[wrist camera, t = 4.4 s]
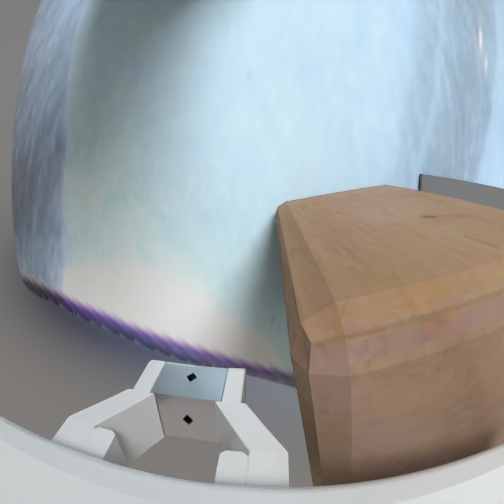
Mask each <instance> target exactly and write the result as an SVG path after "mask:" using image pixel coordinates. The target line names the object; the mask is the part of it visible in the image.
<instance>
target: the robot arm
mask: <svg viewBox="0 0 504 504" xmlns="http://www.w3.org/2000/svg"><path fill="white" fill-rule="evenodd" d="M245 394H246V370H245V369H244V368H229V369H228V368H214V367H202V366H194V365H187V364H178V363H172V362H164V361H157V360H151V361H150V362H149V363H148V365H147V366H146V368H145V370H144V371H143V373H142V375H141V376H140V378H139V380H138V382H137V383H136V385H135V387H134V389H133V390H132V389H127V390H125V391H123V392H121V393H119V394H117V395H115V396H113V397H110V398H108V399H106V400H104V401H102V402H100V403H98V404H95V405H93V406H91V407H89V408H86V409H84V410H82V411H80V412H77V413H76V414H73V415H71V416H69V417H68V418H67V420H66V421H65V423H64V424H63V426H62V427H61V428H60V429H59V431H58V433H57V434H56V435H55V437H54V438H53V439H52V441H50V440H48V439H45V438H43V437H41V436H39V435H36V434H34V433H32V432H30V431H28V430H26V429H24V428H22V427H20V426H18V425H16V424H14V423H12V422H10V421H9V420H7V419H5V418H3V417H1V416H0V504H504V443H502V444H499V445H497V446H495V447H492V448H490V449H487V450H485V451H482V452H480V453H477V454H474V455H471V456H469V457H466V458H463V459H460V460H457V461H453V462H450V463H447V464H444V465H440V466H437V467H433V468H429V469H425V470H422V471H417V472H413V473H409V474H404V475H399V476H395V477H389V478H384V479H378V480H372V481H365V482H357V483H349V484H340V485H328V486H313V487H289V468H288V452H287V451H286V450H285V449H284V447H283V446H282V445H281V444H280V443H279V442H278V441H277V440H276V438H275V437H274V436H273V435H272V434H271V433H270V431H269V430H268V429H267V428H266V427H265V426H264V424H263V423H262V422H261V421H260V420H259V419H258V417H257V416H256V415H255V414H254V413H253V411H252V410H251V409H250V408H249V407H248V405H247V404H245ZM164 435H165V436H171V437H179V438H187V439H194V440H202V441H208V442H215V443H219V445H220V447H221V449H222V451H223V452H222V453H220V456H219V461H218V466H217V470H216V475H215V480H214V483H205V482H198V481H191V480H185V479H179V478H173V477H168V476H163V475H158V474H153V473H149V472H145V471H140V470H136V469H133V468H129V466H128V465H129V464H130V463H131V462H133V461H134V460H135V459H137V458H138V457H139V456H141V455H142V454H143V453H145V452H146V451H147V450H148V449H150V448H151V447H152V446H153V445H155V444H156V443H157V442H159V441H160V440H161V439H162V438H164Z"/></svg>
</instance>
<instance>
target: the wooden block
mask: <svg viewBox="0 0 504 504" xmlns="http://www.w3.org/2000/svg"><path fill="white" fill-rule="evenodd" d="M275 218H276V226H277V234H278V242H279V251H280V259H281V268H282V277H283V286H284V295H285V304H286V314H287V323H288V333H289V343H290V354H291V360H292V365H293V371H294V376H295V382H296V388H297V393H298V399H299V404H300V410H301V416H302V422H303V428H304V433H305V439H306V445H307V451H308V457H309V463H310V469H311V476H312V482H313V486H328V485H340V484H349V483H357V482H365V481H372V480H378V479H384V478H389V477H395V476H399V475H404V474H409V473H413V472H417V471H422V470H425V469H429V468H433V467H437V466H440V465H444V464H447V463H450V462H453V461H457V460H460V459H463V458H466V457H469V456H471V455H474V454H477V453H480V452H482V451H485V450H487V449H490V448H492V447H495V446H497V445H499V444H502V443H504V210H502V209H498V208H494V207H490V206H486V205H482V204H478V203H474V202H470V201H465V200H461V199H456V198H452V197H447V196H442V195H438V194H433V193H428V192H422V191H417V190H412V189H406V188H401V187H395V186H389V185H381V186H374V187H368V188H362V189H355V190H349V191H343V192H337V193H332V194H326V195H320V196H314V197H309V198H303V199H298V200H292V201H287V202H285V203H283V204H282V205H280V206H279V207H277V212H276V217H275Z"/></svg>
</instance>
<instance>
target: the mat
mask: <svg viewBox="0 0 504 504" xmlns="http://www.w3.org/2000/svg"><path fill="white" fill-rule="evenodd" d="M419 191H422V192H428V193H433V194H438V195H442V196H447V197H452V198H456V199H461V200H465V201H470V202H474V203H478V204H482V205H486V206H490V207H494V208H498V209H502V210H504V189H501V188H496V187H492V186H487V185H482V184H477V183H472V182H466V181H461V180H455V179H449V178H443V177H437V176H431V175H424V174H420V186H419Z"/></svg>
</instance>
